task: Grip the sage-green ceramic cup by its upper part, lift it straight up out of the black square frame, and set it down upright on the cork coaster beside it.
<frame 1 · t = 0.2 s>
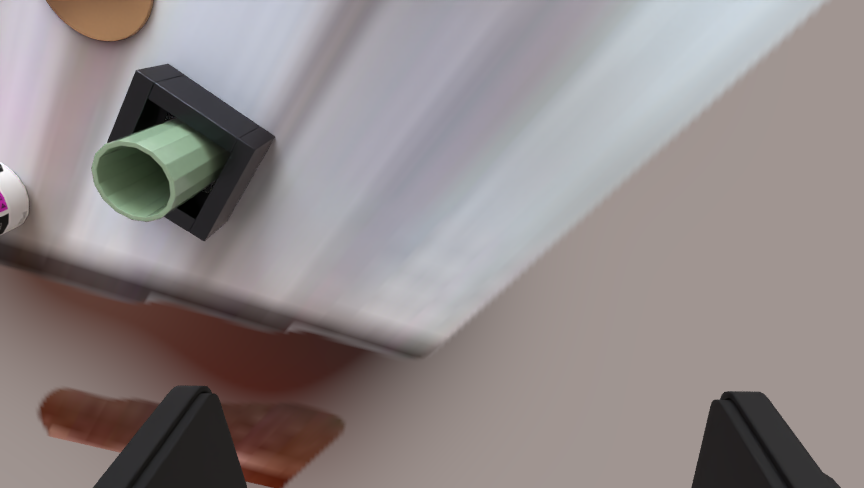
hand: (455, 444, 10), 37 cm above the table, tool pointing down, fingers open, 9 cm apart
cup: (170, 163, 42), in the black square frame
black square frame: (199, 148, 47), on the table
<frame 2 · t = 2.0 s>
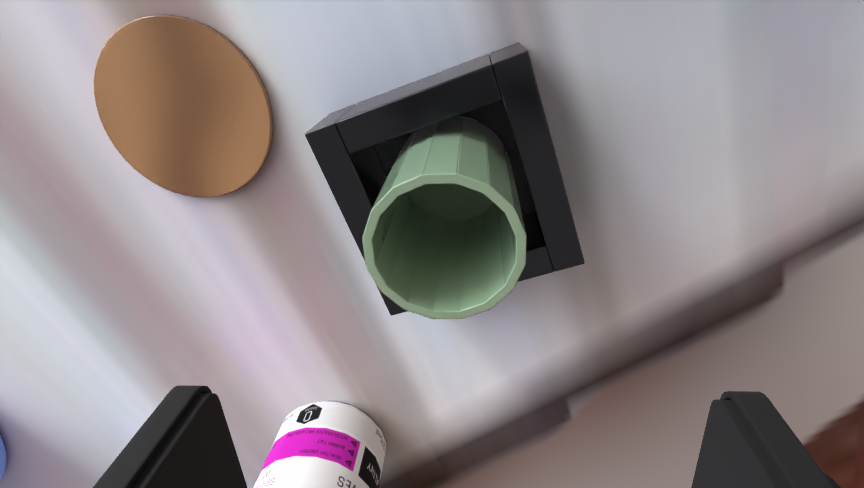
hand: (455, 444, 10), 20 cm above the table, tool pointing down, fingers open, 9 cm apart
supplement can: (336, 432, 39), on the table
cup: (449, 204, 24), in the black square frame
black square frame: (453, 171, 28), on the table
coaster: (186, 112, 28), on the table
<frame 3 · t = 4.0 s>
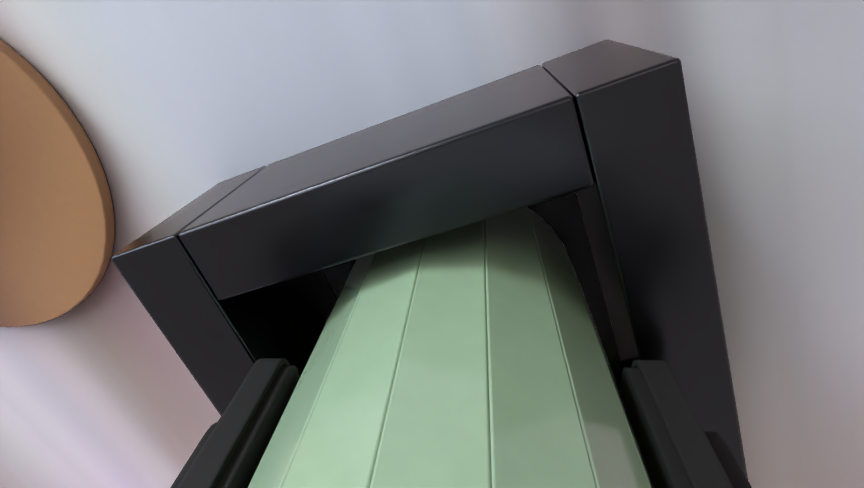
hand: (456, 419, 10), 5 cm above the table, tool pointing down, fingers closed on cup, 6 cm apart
cup: (457, 416, 10), in the black square frame, touching gripper
black square frame: (463, 290, 15), on the table
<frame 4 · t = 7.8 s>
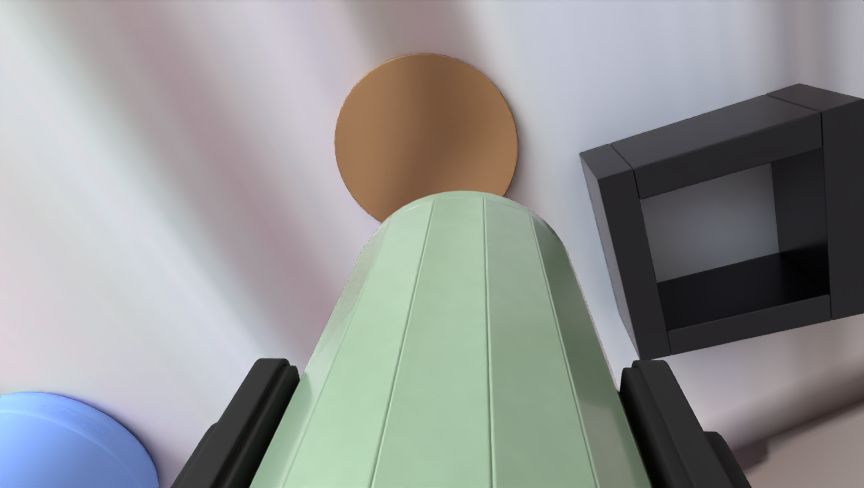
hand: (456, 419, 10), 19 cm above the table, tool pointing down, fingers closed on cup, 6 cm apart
water jug: (73, 457, 41), on the table
cup: (457, 417, 10), point 19 cm above the table, touching gripper
black square frame: (698, 212, 28), on the table
coaster: (425, 150, 27), on the table
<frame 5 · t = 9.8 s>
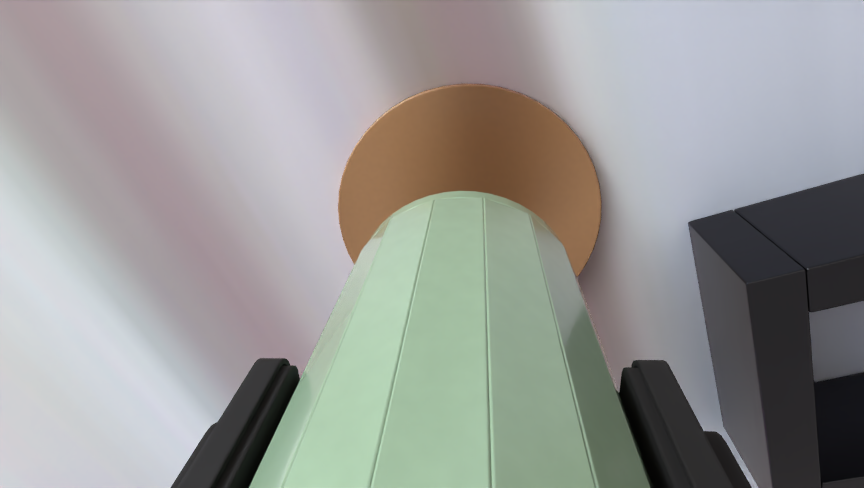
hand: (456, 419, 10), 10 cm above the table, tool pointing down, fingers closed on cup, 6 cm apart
cup: (457, 417, 10), point 10 cm above the table, touching gripper
black square frame: (852, 301, 20), on the table
coaster: (466, 216, 19), on the table
when the fingers open (5 cm above the table, at t = 11.5 s): cup stays where it is, resting on coaster.
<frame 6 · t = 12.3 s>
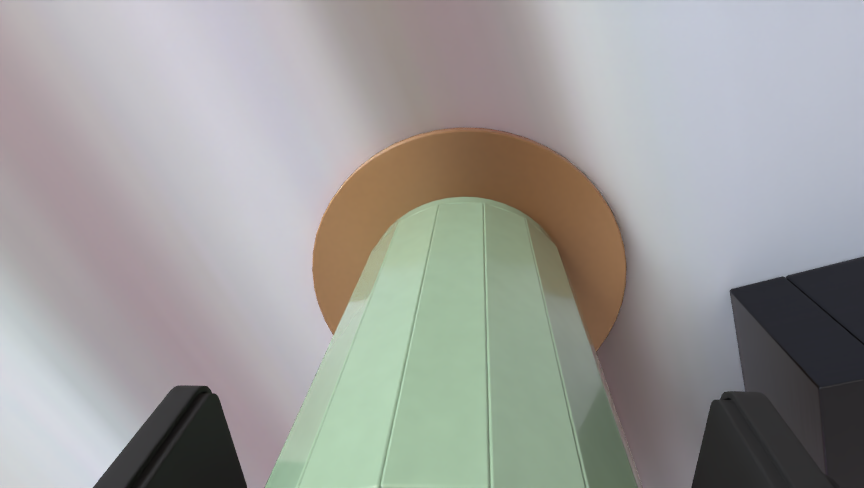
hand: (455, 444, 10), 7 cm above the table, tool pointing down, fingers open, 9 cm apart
cup: (459, 398, 11), on the coaster
coaster: (465, 280, 16), on the table
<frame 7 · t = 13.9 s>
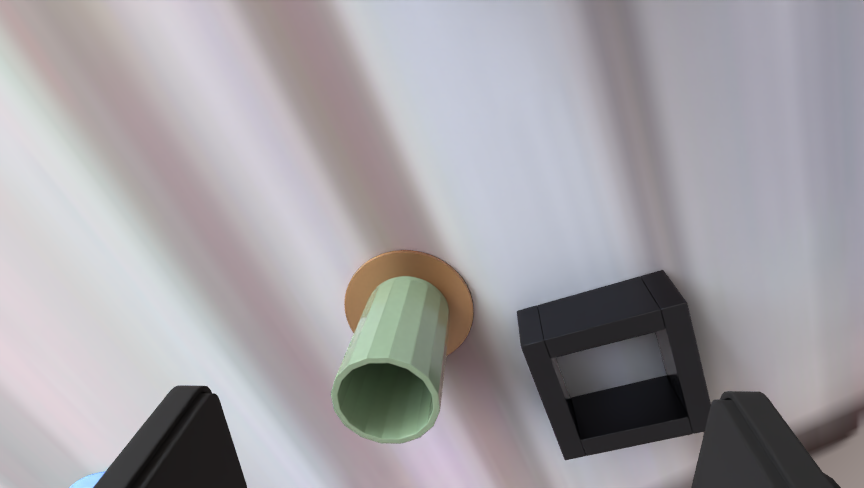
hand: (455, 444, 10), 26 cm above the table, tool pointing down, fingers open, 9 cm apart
cup: (398, 351, 34), on the coaster
black square frame: (605, 348, 38), on the table
coaster: (408, 308, 39), on the table
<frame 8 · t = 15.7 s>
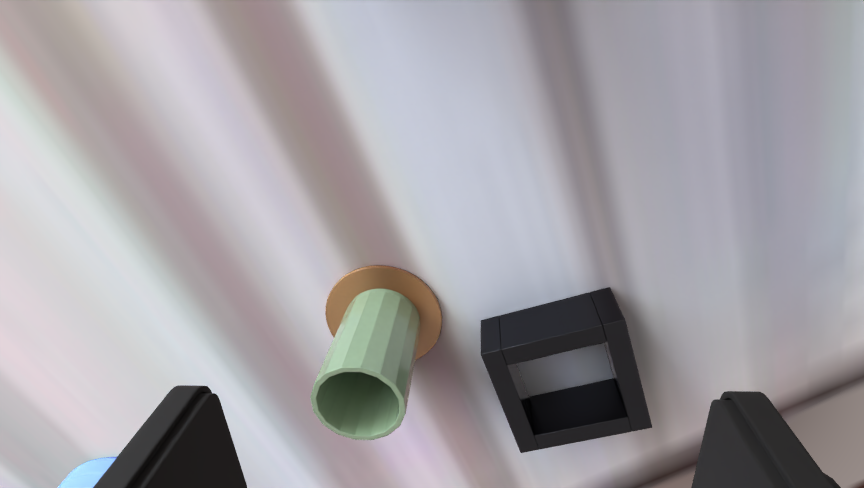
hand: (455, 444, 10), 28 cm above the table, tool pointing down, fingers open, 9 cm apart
cup: (372, 357, 38), on the coaster
black square frame: (559, 354, 43), on the table
coaster: (383, 316, 43), on the table
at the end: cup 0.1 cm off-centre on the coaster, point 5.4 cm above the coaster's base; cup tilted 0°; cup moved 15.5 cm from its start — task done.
